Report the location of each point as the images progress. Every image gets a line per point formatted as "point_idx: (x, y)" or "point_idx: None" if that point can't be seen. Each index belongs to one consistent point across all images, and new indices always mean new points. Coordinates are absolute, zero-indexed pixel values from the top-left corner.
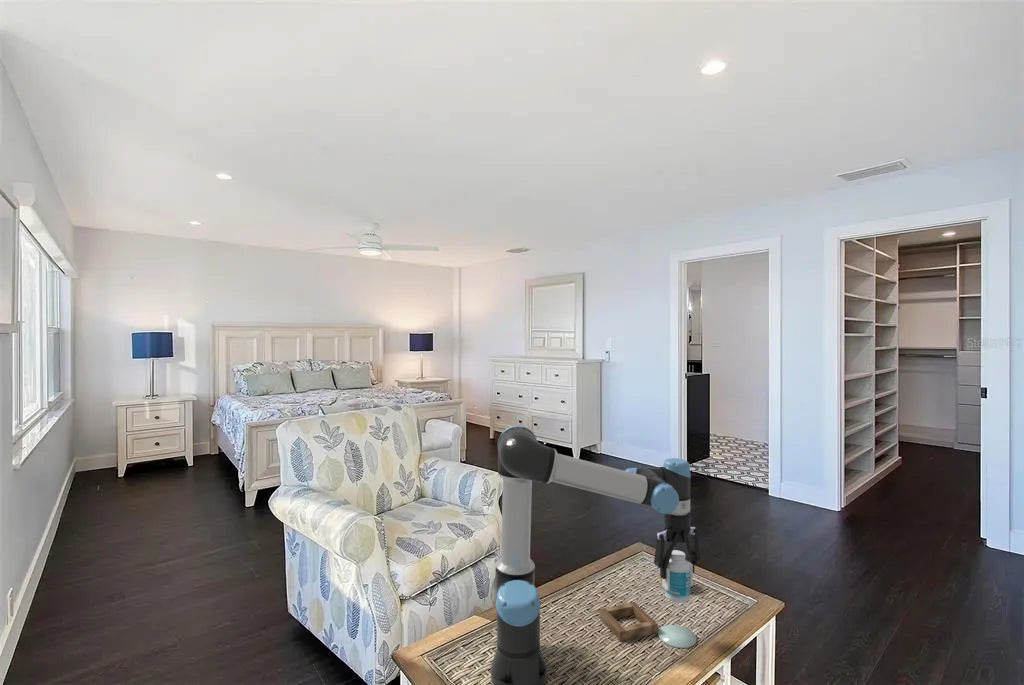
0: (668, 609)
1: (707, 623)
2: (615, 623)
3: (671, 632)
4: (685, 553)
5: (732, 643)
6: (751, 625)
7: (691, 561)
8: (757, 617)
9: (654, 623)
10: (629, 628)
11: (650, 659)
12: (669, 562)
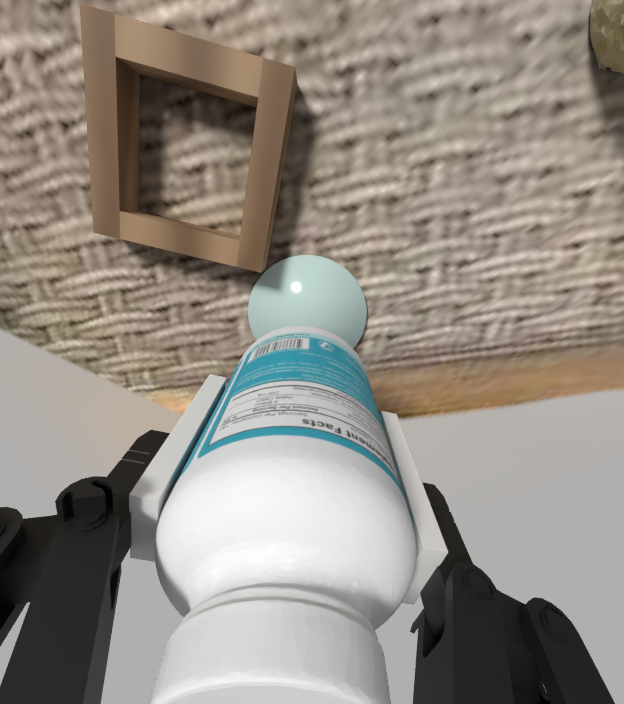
0: (426, 173)
1: (451, 320)
2: (103, 171)
3: (303, 296)
4: (447, 679)
5: (412, 411)
6: (540, 393)
7: (419, 630)
8: (601, 381)
9: (253, 264)
10: (142, 233)
11: (160, 344)
12: (170, 584)
